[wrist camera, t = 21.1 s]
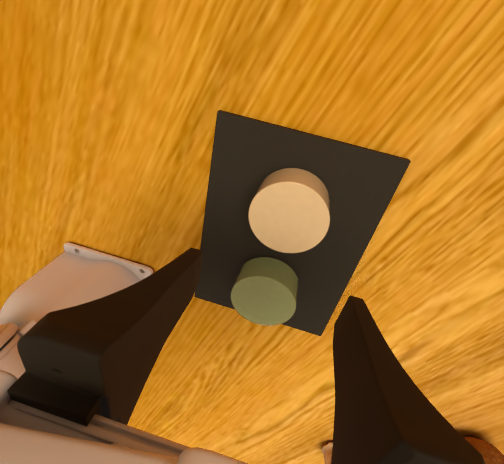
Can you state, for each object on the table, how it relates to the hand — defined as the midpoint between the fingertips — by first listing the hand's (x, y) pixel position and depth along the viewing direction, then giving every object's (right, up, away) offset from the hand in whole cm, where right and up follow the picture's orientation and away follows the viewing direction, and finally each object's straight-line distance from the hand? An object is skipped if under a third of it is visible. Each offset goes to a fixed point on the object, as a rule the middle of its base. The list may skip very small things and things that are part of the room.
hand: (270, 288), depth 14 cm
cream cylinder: (+2, +5, +8) cm, 10 cm away
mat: (+1, +2, +11) cm, 11 cm away
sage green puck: (+1, -2, +12) cm, 12 cm away
